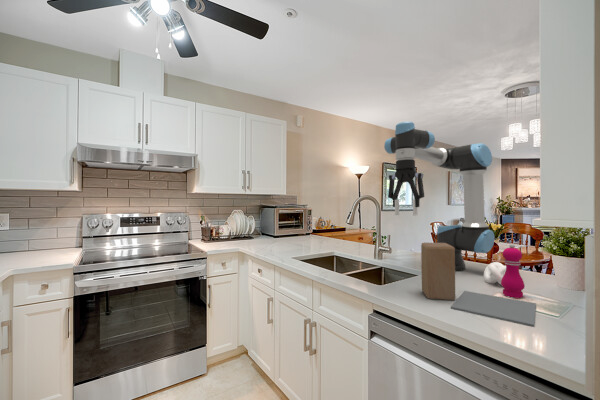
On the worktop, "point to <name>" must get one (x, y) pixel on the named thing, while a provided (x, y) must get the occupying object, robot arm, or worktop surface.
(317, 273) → the worktop surface
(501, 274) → the white decorative knot
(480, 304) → the mat
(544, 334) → the worktop surface
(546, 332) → the worktop surface
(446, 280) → the block
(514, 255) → the pepper mill
